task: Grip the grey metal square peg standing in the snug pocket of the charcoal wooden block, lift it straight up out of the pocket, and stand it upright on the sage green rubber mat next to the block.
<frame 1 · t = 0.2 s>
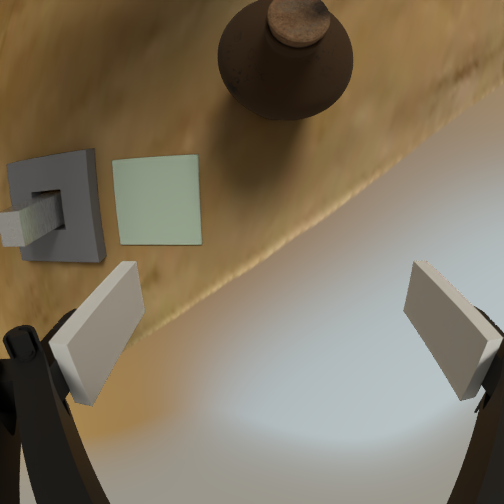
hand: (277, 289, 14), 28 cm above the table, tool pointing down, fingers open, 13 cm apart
metal peg: (35, 216, 37), in the pocket block
olive oil: (277, 84, 36), on the table
green mat: (156, 201, 42), on the table
pocket block: (56, 206, 42), on the table
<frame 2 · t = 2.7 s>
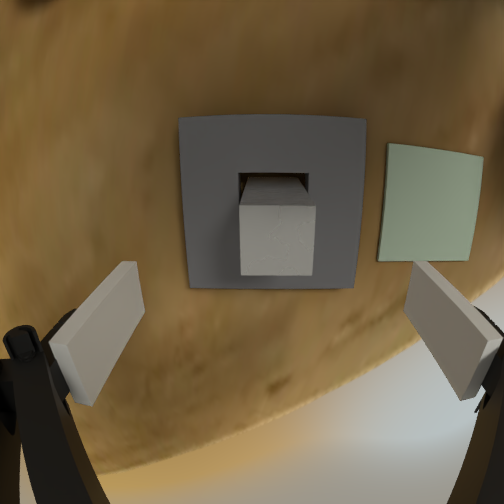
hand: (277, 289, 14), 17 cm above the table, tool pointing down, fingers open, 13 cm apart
metal peg: (274, 216, 25), in the pocket block
green mat: (433, 206, 30), on the table
pocket block: (272, 200, 30), on the table
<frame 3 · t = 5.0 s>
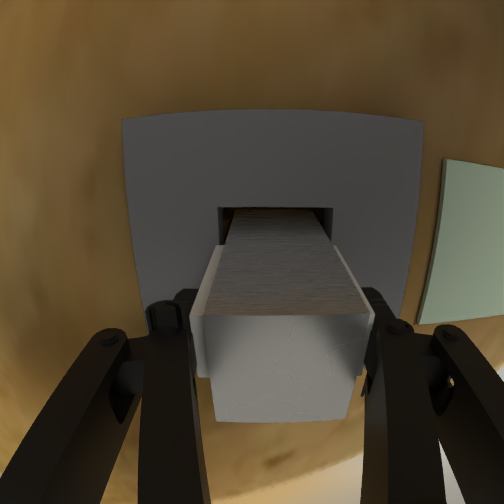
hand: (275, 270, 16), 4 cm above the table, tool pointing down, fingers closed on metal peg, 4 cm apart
metal peg: (277, 289, 14), in the pocket block, touching gripper
green mat: (493, 246, 19), on the table
pocket block: (273, 245, 20), on the table
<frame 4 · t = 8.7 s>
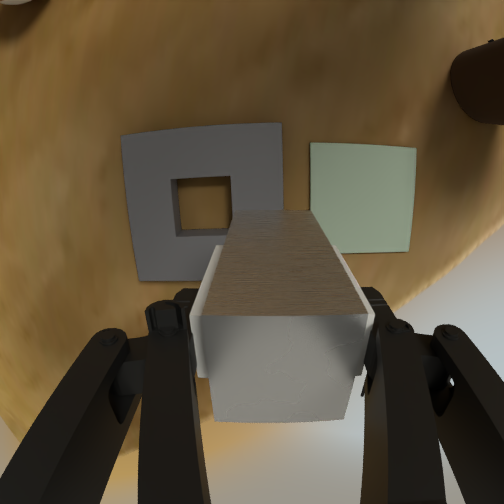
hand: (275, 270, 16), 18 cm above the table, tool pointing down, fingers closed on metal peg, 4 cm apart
metal peg: (276, 289, 14), point 20 cm above the table, touching gripper
olive oil: (478, 86, 27), on the table
green mat: (363, 199, 33), on the table
pocket block: (206, 201, 34), on the table
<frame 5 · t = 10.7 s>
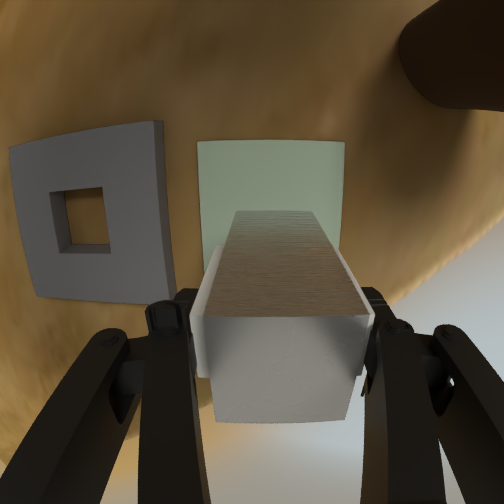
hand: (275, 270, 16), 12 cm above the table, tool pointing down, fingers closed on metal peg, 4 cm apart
metal peg: (277, 290, 14), point 14 cm above the table, touching gripper
olive oil: (441, 60, 22), on the table
green mat: (271, 210, 27), on the table
pocket block: (91, 214, 28), on the table
when the fingers open (5 cm above the table, at t = 12.5 s): metal peg stays where it is, resting on green mat.
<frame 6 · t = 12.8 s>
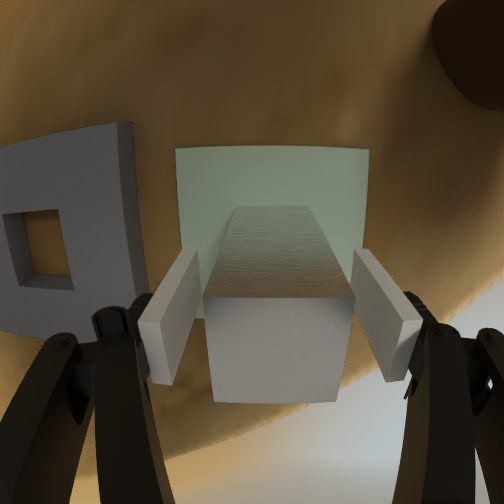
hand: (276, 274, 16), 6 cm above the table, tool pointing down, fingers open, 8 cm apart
metal peg: (274, 280, 15), on the green mat
olive oil: (481, 51, 15), on the table
green mat: (272, 237, 21), on the table
pocket block: (53, 240, 22), on the table
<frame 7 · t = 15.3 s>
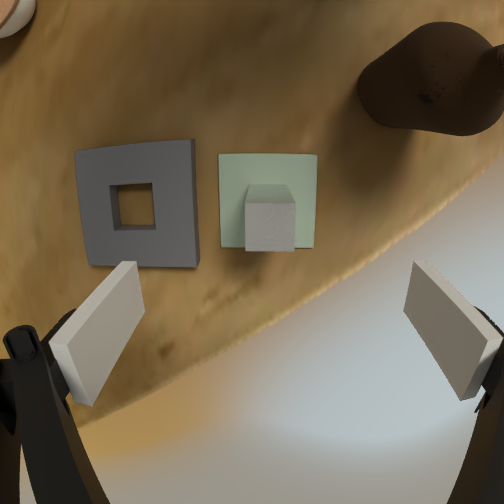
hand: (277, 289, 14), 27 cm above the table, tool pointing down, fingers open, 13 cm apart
metal peg: (268, 212, 34), on the green mat
lidded jar: (22, 14, 30), on the table
olive oil: (391, 92, 35), on the table
green mat: (267, 201, 40), on the table
pocket block: (138, 203, 41), on the table
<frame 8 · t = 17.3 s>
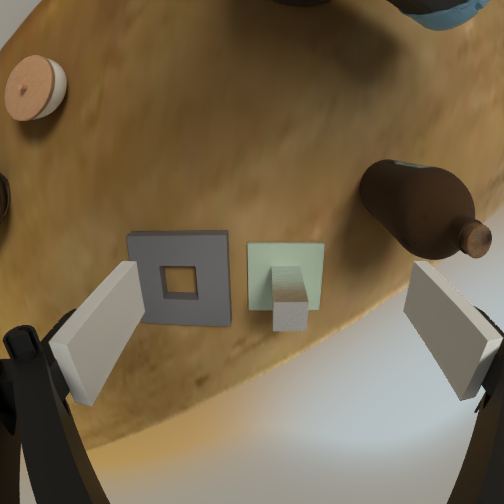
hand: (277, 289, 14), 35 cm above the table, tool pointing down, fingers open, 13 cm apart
metal peg: (287, 295, 47), on the green mat
lidded jar: (53, 90, 42), on the table
olive oil: (387, 188, 47), on the table
green mat: (285, 277, 53), on the table
pocket block: (182, 276, 53), on the table
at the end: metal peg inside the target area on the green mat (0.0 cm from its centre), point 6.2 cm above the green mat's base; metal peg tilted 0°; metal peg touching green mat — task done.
